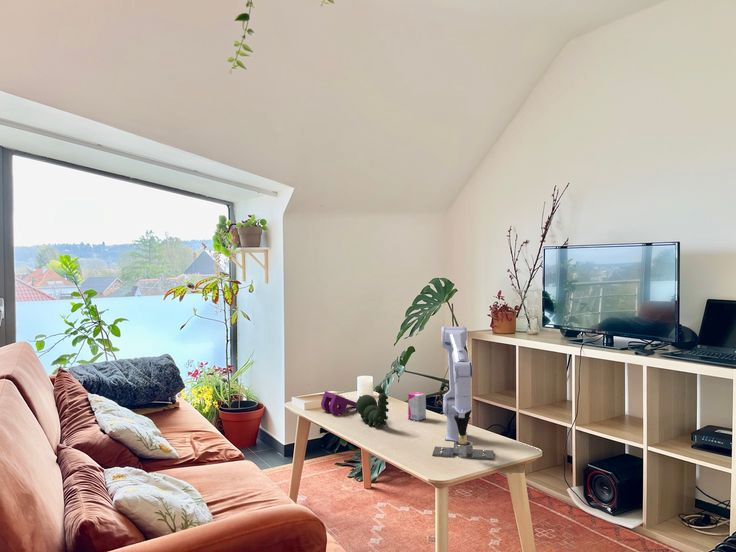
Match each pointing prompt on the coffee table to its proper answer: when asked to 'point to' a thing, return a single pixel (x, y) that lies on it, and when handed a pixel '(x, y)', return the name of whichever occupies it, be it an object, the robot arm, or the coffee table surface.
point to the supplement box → (417, 406)
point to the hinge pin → (462, 440)
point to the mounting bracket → (335, 403)
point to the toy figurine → (373, 408)
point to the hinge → (463, 451)
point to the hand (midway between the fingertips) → (463, 432)
